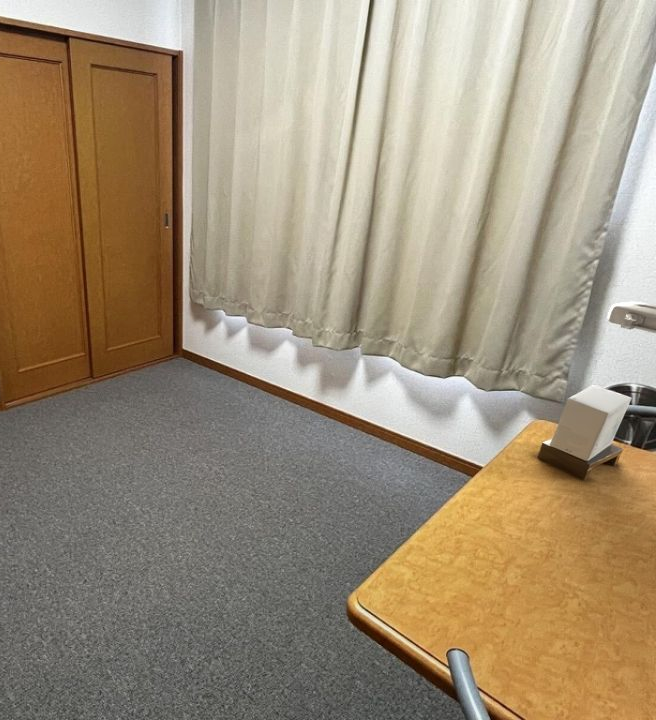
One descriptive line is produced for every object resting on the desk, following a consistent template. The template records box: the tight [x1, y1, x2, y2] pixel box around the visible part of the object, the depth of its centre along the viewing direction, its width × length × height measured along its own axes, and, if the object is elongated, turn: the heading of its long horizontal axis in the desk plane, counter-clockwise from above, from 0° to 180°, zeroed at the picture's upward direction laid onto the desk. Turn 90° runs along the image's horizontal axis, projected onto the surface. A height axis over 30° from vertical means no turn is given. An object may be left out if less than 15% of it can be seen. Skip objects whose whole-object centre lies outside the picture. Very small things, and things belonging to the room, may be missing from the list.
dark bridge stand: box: [537, 438, 624, 481], centre depth 91 cm, size 8×11×4 cm
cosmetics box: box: [550, 384, 633, 461], centre depth 88 cm, size 10×6×10 cm, turn 121°
